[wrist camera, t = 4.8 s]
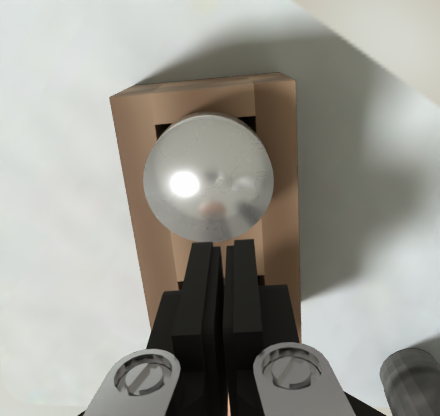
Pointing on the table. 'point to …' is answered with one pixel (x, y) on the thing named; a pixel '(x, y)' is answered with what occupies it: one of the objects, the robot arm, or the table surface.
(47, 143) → the table surface
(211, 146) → the steel plug
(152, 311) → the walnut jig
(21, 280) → the table surface
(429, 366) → the beverage cup
